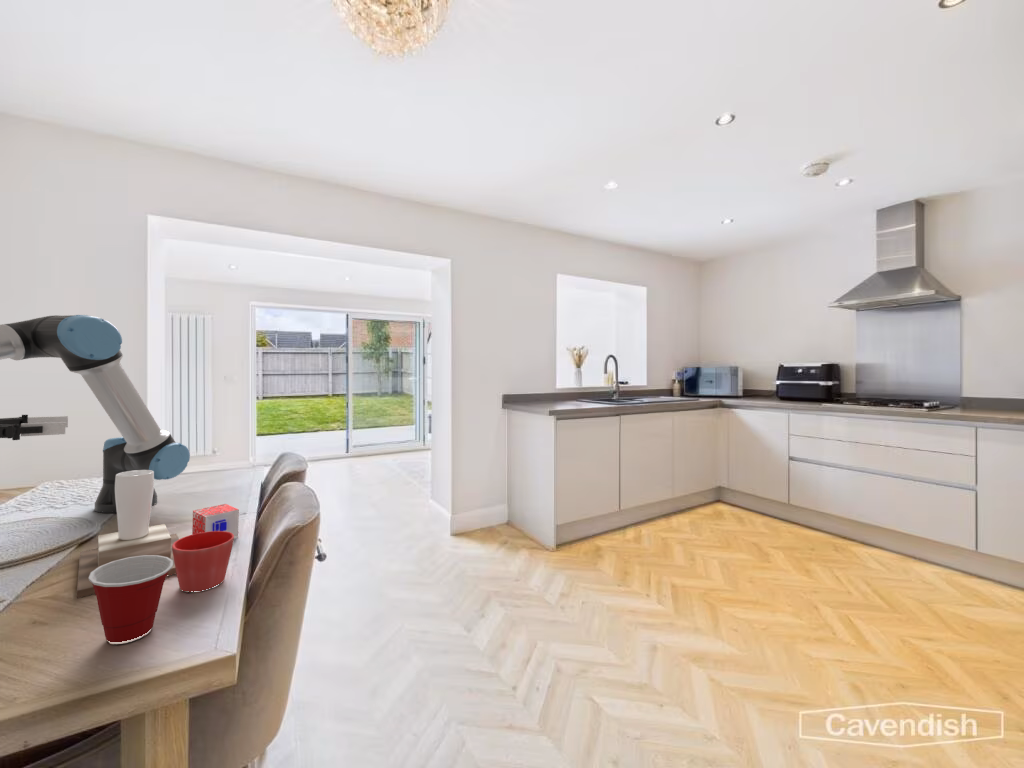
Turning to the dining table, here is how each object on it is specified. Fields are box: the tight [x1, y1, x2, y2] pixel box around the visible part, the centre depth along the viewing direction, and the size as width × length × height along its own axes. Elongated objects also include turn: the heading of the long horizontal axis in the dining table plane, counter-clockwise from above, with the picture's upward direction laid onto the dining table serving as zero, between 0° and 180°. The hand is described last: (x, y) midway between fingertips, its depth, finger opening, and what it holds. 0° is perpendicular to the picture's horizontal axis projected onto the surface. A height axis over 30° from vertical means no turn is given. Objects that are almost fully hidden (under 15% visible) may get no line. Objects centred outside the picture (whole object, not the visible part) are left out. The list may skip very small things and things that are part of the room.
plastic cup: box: [89, 555, 173, 642], centre depth 72 cm, size 11×11×12 cm
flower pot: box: [172, 531, 235, 592], centre depth 89 cm, size 11×11×10 cm
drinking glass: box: [115, 470, 155, 540], centre depth 97 cm, size 7×7×15 cm
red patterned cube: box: [191, 503, 240, 539], centre depth 113 cm, size 8×8×8 cm
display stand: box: [76, 523, 180, 599], centre depth 97 cm, size 24×18×6 cm
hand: (66, 424), depth 99 cm, fingers open, 13 cm apart
